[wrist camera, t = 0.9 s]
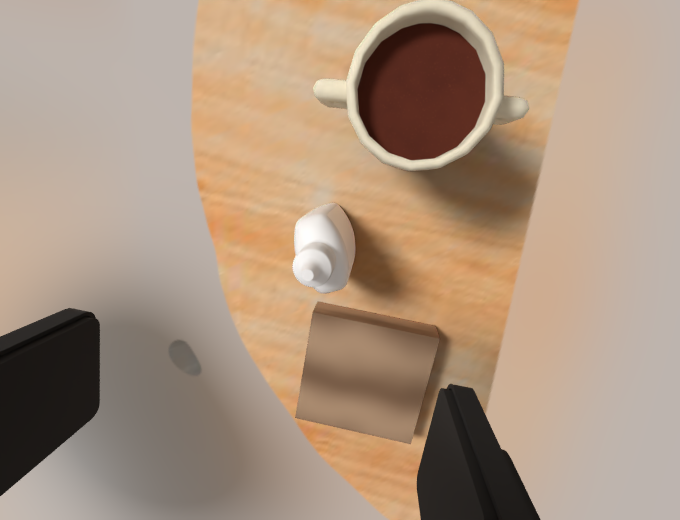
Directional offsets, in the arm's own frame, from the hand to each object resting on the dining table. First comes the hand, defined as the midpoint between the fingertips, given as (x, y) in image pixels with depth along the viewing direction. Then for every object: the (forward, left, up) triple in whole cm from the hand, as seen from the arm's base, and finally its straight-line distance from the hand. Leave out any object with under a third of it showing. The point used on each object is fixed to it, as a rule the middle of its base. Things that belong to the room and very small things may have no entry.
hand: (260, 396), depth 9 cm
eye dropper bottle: (0, -1, -23) cm, 23 cm away
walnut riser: (+12, +4, -23) cm, 26 cm away
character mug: (-10, +3, -23) cm, 25 cm away
